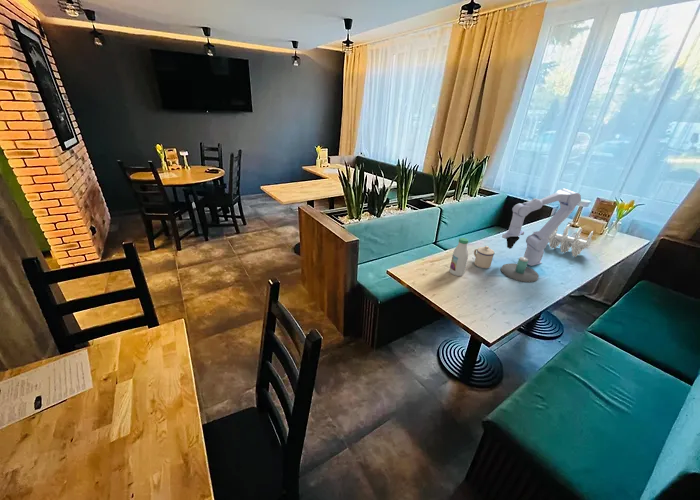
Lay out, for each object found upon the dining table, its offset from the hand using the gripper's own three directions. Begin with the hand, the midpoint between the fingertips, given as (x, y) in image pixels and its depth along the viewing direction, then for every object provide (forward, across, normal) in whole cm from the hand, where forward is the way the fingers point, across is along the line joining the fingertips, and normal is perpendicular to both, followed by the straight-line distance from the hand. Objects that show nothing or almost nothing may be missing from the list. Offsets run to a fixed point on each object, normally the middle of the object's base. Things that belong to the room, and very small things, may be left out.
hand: (509, 247), depth 166 cm
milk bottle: (+10, +35, -1) cm, 36 cm away
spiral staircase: (+10, -46, +2) cm, 47 cm away
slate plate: (+9, +3, +12) cm, 16 cm away
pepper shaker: (+8, +3, +12) cm, 15 cm away
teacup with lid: (+10, +15, -4) cm, 18 cm away
